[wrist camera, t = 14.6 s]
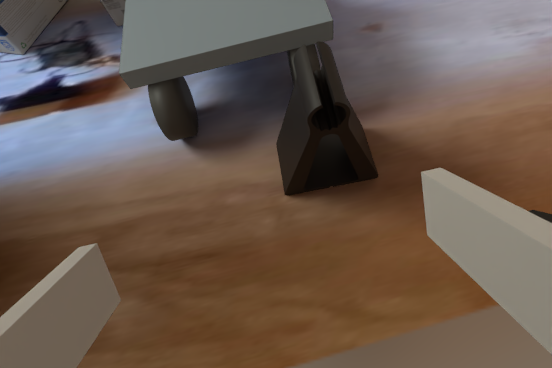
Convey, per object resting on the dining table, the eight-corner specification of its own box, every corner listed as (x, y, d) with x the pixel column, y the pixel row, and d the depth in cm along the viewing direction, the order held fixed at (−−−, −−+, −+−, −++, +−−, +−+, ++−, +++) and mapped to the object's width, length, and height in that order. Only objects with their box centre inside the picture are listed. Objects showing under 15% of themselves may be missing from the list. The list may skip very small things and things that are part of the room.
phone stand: (362, 128, 35) (372, 28, 25) (378, 178, 32) (397, 89, 22) (277, 145, 36) (251, 55, 25) (285, 195, 33) (260, 118, 22)
